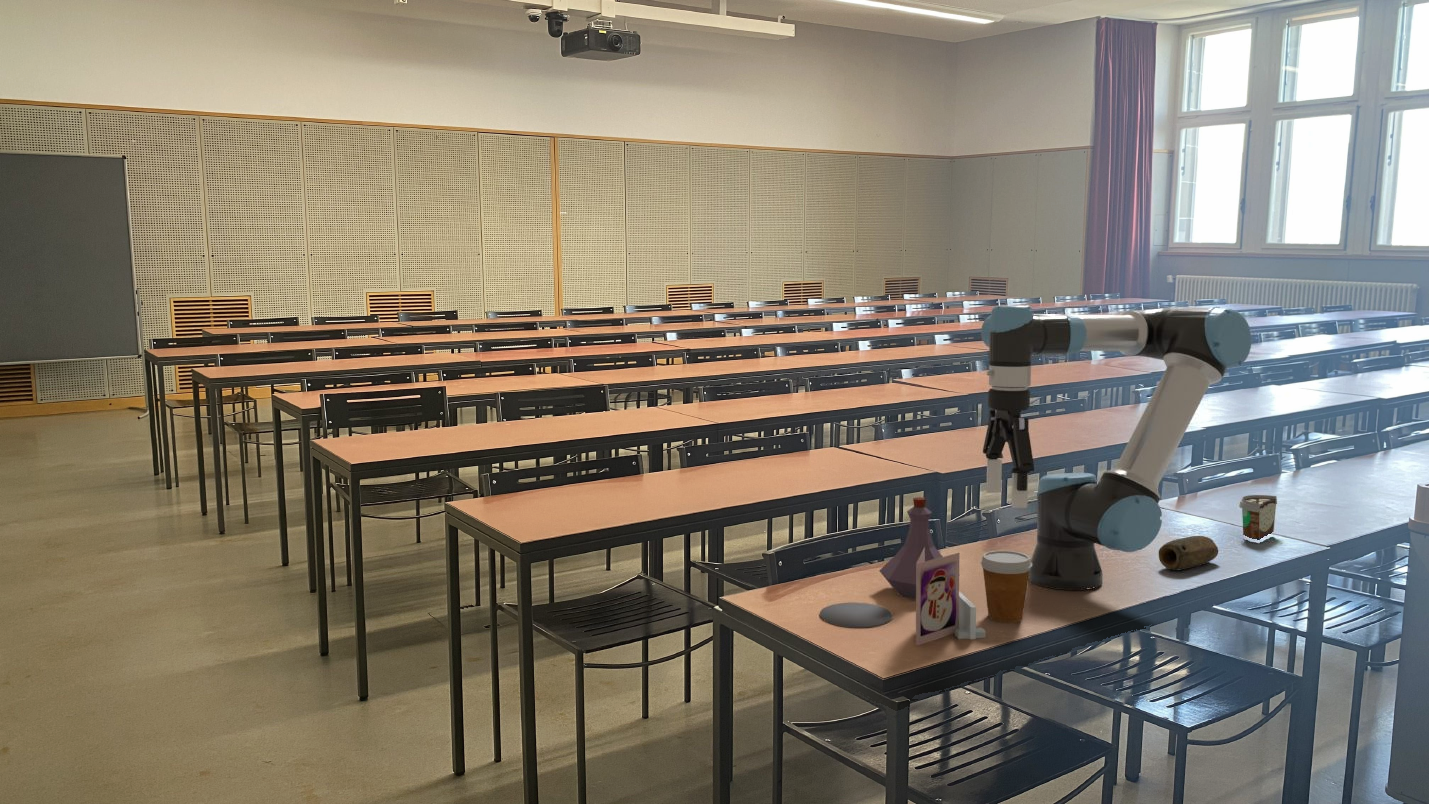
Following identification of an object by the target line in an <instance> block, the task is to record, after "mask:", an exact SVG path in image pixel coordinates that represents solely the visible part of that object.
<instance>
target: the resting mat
mask: <svg viewBox="0 0 1429 804" xmlns="http://www.w3.org/2000/svg"><path fill="white" fill-rule="evenodd" d="M819 617H820V618H822V619H823V620H822V619H821V620H822V621H824V620H825V621H826V622H825V621H824V622H825V623H827V622H828V624H830V625H834V626H837V627H842V628H850V629H852V628H853V629H867V628H869V629H870V628H875V627H880V626H884V625H886V624H888V623H889V622H891V621H892V619H893V613H892V611H891V610H889V609H888V608H886V607H884V606H880V605H877V604H874V603H869V602H867V603H866V602H854V601H853V602H852V601H851V602H850V601H849V602H839V603H834V604H830V605H828V606H826V607H823V608H822V609H821V610H820V612H819Z"/></svg>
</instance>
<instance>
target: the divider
mask: <svg viewBox="0 0 1429 804" xmlns="http://www.w3.org/2000/svg"><path fill="white" fill-rule="evenodd" d="M986 633H987V631H986V630H985V629H984V628H983V627H977V606H976V605H975V604H974V603H973V602H972V601H970V600H969V599H968V598H967V597H966V596H965V595H964V594H963V593H962V591H960V590H959V629H955V633H954V636H955V637H957V639H958V640H962V639H963V640H965V639H966V640H967V639H969V640H976V639H983V638H985V639H986Z"/></svg>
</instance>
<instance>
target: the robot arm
mask: <svg viewBox="0 0 1429 804" xmlns="http://www.w3.org/2000/svg"><path fill="white" fill-rule="evenodd" d="M990 311H991V312H990V315H988V316H987V317H986V318H985V319H984V321H983V322H982V325H981V329H980V333H981V334H980V336H981V340H982V341H983V344H984V345H985V347H986V346H987V348H989V353H988V354H989V355H988V356H989V357H988V358H989V361H988V362H989V365H988V370H986V375H987V376H988V386H990V387H991V388H990V389H989V390H988V395H987V397H988V398H987V407H988V408H989V409H990V410H989V414H988V416H989V417H988V424H987V428H986V433H985V437H984V443H983V448H982V453H983V454H985V457H986V486H985V487H986V488H985V489H986V490H985V493H988V494H989V493H991V494H992V493H994V494H995V493H1002V473H1003V472H1002V471H1003V469H1002V468H1003V459H1004V456H1003V450H1004V448H1005V445H1006V443H1007V444H1008V450H1009V452H1010V457H1011V461H1012V465H1013V468H1011V470H1010V473H1011V501H1010V502H1011V506H1010V507H1011V508H1012V509H1021V508H1022V509H1027V508H1028V496H1029V495H1028V494H1029V474H1030V473H1031V472H1034V470H1035V465H1034V464H1035V463H1034V458H1033V452H1032V451H1033V450H1032V444H1031V438H1030V430H1029V418H1028V417H1021V415H1022V414H1021V412H1022V411H1027V410H1029V409H1030V407H1031V406H1030V405H1031V391H1030V390H1029V389H1028V388H1030V386H1032V385H1031V384H1032V383H1031V382H1032V357H1035V356H1056V355H1057V356H1058V355H1059V356H1067V355H1073V354H1077V353H1079V352H1089V351H1090V352H1119V353H1121V354H1122V355H1124V356H1129V357H1130V356H1131V357H1132V356H1135V357H1143V358H1144V357H1145V358H1150V359H1155V360H1156V359H1157V360H1159V361H1160V360H1161V361H1164V365H1165V366H1166V368H1165V370H1164V372H1163V374H1162V376H1161V378H1160V380H1159V382H1158V384H1157V386H1156V388H1155V390H1154V392H1153V394H1152V396H1151V398H1150V400H1149V402H1148V403H1147V406H1146V407H1145V408H1144V410H1143V413H1142V415H1141V417H1140V419H1139V421H1138V422H1137V424H1136V427H1135V428H1134V431H1133V433H1132V434H1131V437H1130V438H1129V441H1128V442H1127V444H1126V446H1125V448H1124V450H1123V452H1122V454H1121V455H1120V458H1119V459H1118V461H1117V463H1116V465H1115V467H1114V468H1112V469H1108V470H1105V471H1104V472H1103V473H1102V475H1101V477H1100V479H1099V481H1098V480H1097V476H1096V475H1095V474H1093V473H1090V472H1089V473H1088V472H1069V473H1068V472H1066V473H1065V472H1063V473H1053V474H1046V475H1043V476H1042V477H1041V478H1040V479H1039V480H1038V486H1037V487H1038V488H1037V493H1036V501H1037V502H1036V503H1037V504H1036V510H1037V511H1036V544H1035V547H1034V550H1033V552H1032V556H1031V558H1030V561H1031V563H1032V567H1031V570H1030V571H1029V578H1028V581H1031V582H1032V583H1033V582H1034V583H1033V584H1036V585H1038V586H1041V587H1046V588H1048V589H1049V588H1050V589H1055V590H1063V591H1082V590H1081V589H1086V590H1088V589H1087V588H1092V589H1094V588H1093V587H1096V588H1098V587H1097V586H1099V585H1100V586H1102V585H1103V577H1104V574H1103V570H1102V565H1101V563H1100V560H1099V557H1098V554H1097V551H1096V547H1095V545H1096V544H1097V545H1100V546H1102V547H1106V548H1107V549H1109V550H1113V551H1121V552H1125V553H1133V552H1137V551H1141V550H1144V549H1145V548H1146V547H1148V546H1149V545H1150V544H1151V543H1152V542H1153V541H1154V540H1155V539H1156V537H1157V536H1158V534H1159V532H1160V530H1161V528H1162V524H1163V523H1162V522H1163V521H1162V518H1161V517H1162V516H1163V514H1162V512H1163V511H1162V509H1161V507H1160V505H1159V502H1160V500H1161V494H1160V492H1159V490H1158V486H1159V484H1160V482H1161V480H1162V478H1163V476H1164V474H1165V473H1166V470H1167V469H1168V466H1169V465H1170V463H1171V461H1172V458H1173V456H1174V454H1175V453H1176V450H1177V449H1178V447H1179V445H1180V444H1181V443H1180V442H1181V441H1182V439H1183V437H1184V435H1185V433H1186V431H1187V429H1188V427H1189V425H1190V423H1191V421H1192V419H1193V417H1194V416H1195V414H1196V411H1197V410H1198V408H1199V405H1200V404H1201V401H1202V400H1203V397H1204V396H1205V395H1206V394H1205V393H1206V392H1207V390H1208V389H1209V386H1210V385H1213V384H1217V383H1219V382H1221V380H1222V379H1223V377H1224V375H1225V373H1226V371H1227V369H1228V368H1230V369H1231V368H1235V367H1238V366H1239V365H1240V366H1241V365H1242V364H1244V363H1245V361H1246V360H1247V359H1248V357H1249V354H1250V353H1251V349H1252V333H1251V329H1250V325H1249V323H1248V321H1247V319H1246V318H1245V317H1244V315H1243V314H1242V313H1240V312H1239V311H1237V310H1235V309H1232V308H1224V307H1220V306H1214V307H1193V306H1192V307H1187V306H1186V307H1185V306H1183V307H1182V306H1169V307H1162V308H1154V309H1153V308H1152V309H1144V310H1143V309H1142V310H1126V311H1124V312H1122V313H1121V314H1117V315H1116V314H1061V313H1058V314H1057V313H1055V314H1054V313H1053V314H1052V313H1050V314H1048V313H1045V314H1044V313H1033V307H1031V306H1030V305H1022V304H1021V305H996V306H994V307H993V308H992V309H991V310H990ZM1100 586H1099V587H1100Z"/></svg>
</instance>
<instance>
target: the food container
mask: <svg viewBox="0 0 1429 804" xmlns="http://www.w3.org/2000/svg"><path fill="white" fill-rule="evenodd" d="M1277 497H1278V496H1277V495H1270V494H1269V495H1267V494H1249V495H1244V496H1242V497H1241V499H1240V502H1239V504H1238V505H1239V506H1238V507H1239V508H1241V513H1242V514H1241V515H1242V535H1245V536H1247V537H1249V538H1252V539H1257V540H1260V539H1261V538H1263V537H1264V536H1267V535H1268V534H1271V533H1272V532H1274V530H1275V523H1276V522H1275V521H1276V520H1275V518H1276V510H1277V509H1276V508H1277V507H1276V506H1277V504H1278V498H1277ZM1274 533H1275V532H1274Z"/></svg>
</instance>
